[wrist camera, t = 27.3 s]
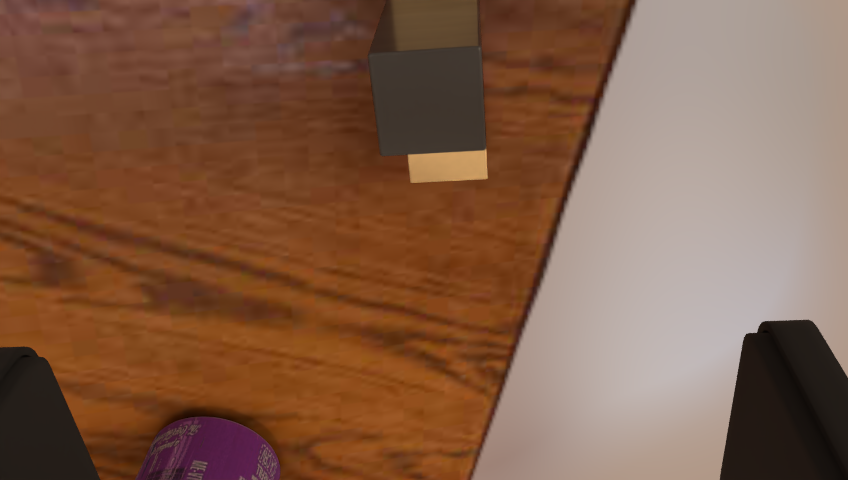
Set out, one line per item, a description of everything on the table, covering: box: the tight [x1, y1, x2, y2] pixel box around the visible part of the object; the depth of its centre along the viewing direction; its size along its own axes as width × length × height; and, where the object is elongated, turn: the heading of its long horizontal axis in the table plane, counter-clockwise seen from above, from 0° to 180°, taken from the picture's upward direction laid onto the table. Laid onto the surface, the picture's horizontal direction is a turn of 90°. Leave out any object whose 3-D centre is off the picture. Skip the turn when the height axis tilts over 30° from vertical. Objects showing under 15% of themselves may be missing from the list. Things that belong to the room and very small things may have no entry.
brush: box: [368, 0, 488, 183], centre depth 25 cm, size 12×3×10 cm, turn 5°
